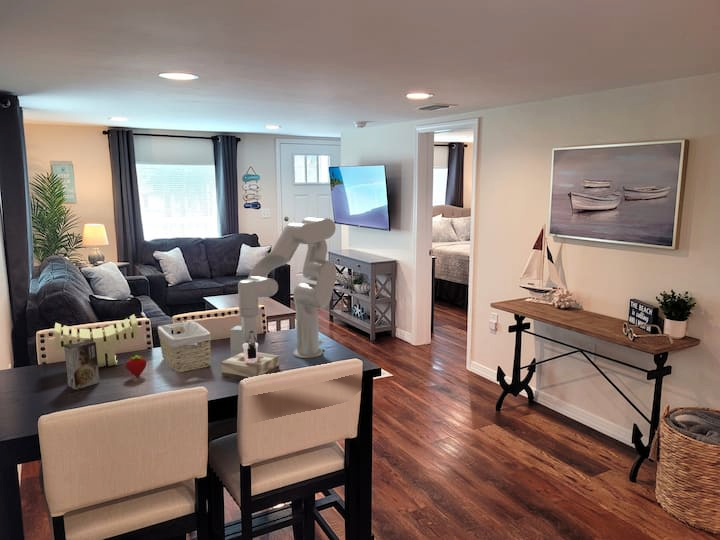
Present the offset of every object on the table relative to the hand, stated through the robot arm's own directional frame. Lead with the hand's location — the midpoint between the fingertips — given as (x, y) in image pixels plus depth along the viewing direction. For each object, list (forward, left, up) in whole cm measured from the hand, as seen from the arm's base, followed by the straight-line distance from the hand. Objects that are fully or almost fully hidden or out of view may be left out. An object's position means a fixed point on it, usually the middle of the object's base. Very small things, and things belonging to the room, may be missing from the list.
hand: (250, 355), depth 210 cm
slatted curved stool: (+18, -64, -7) cm, 67 cm away
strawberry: (+23, -37, -7) cm, 44 cm away
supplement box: (-15, -16, -7) cm, 23 cm away
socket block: (0, 0, -7) cm, 7 cm away
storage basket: (+3, -32, -7) cm, 33 cm away
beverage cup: (0, 0, -5) cm, 5 cm away
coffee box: (+37, -49, -7) cm, 62 cm away
